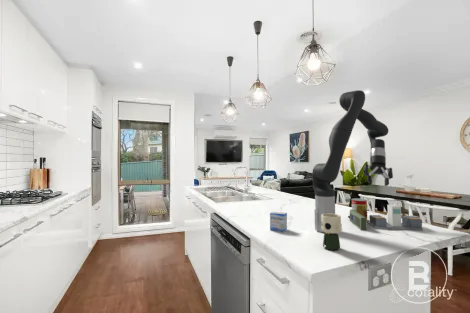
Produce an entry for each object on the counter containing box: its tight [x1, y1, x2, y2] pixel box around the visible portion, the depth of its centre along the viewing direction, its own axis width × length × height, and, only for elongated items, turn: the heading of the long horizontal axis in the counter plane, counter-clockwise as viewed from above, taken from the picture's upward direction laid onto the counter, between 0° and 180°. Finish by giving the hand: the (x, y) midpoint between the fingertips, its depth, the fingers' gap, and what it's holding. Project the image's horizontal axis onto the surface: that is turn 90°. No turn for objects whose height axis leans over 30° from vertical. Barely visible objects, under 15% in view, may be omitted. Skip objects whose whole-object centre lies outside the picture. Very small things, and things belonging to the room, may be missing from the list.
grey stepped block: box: [367, 214, 424, 231], centre depth 121 cm, size 22×9×5 cm, turn 81°
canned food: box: [351, 197, 368, 220], centre depth 136 cm, size 8×8×12 cm
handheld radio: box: [347, 208, 368, 232], centre depth 127 cm, size 7×3×25 cm
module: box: [386, 204, 402, 226], centre depth 121 cm, size 4×5×10 cm
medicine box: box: [269, 211, 288, 232], centre depth 118 cm, size 8×4×9 cm, turn 68°
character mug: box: [321, 213, 343, 251], centre depth 92 cm, size 11×7×13 cm, turn 18°
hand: (378, 184), depth 128 cm, fingers open, 8 cm apart
